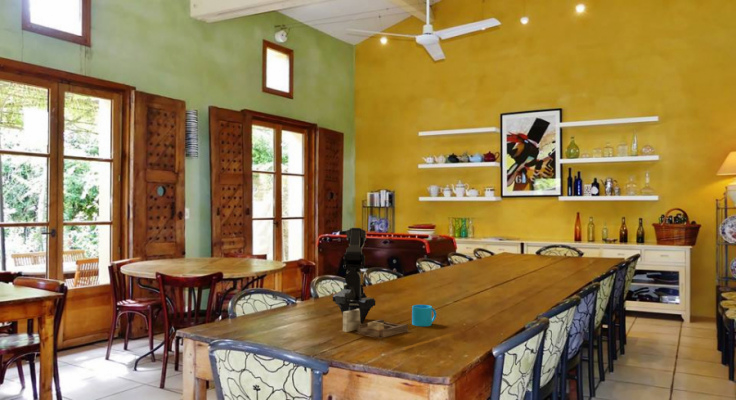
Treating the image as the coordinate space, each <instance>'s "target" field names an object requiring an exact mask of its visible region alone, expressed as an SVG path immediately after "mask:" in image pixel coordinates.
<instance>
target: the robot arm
mask: <svg viewBox="0 0 736 400" xmlns="http://www.w3.org/2000/svg"><path fill="white" fill-rule="evenodd" d="M346 241H348V242H347V243H348V247H346V251H345V253H344V255H343V269H345V270H346V274H345V277H344V281H345V283H346V284H344V285H343V289H342V290H340V291H338V292H337V293H335V294H333V295H332V302H333V303H334V304H335V305H337V306H338V307H339V310H340V311H341V314H342V316H343V312H344V311H349V310H354V309H359V310H360V322H361V324H363V323H365V320H366V319H367V316H368V314H369V312H370V310H371V309H372V308H373V307H374V306H376V299H375V298H373V297H368V296H367V295H366V293H365V291H364V289H365V288H364V284H362V270H363V269H364V267H365V266H366V256H365V254H364V252H363V248H364V246H365V241H367V231H366V230H365V229H363V228H361V227H350V228H349V229H348V230H346ZM361 269H362V270H361Z"/></svg>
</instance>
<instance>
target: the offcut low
mask: <svg viewBox="0 0 736 400" xmlns="http://www.w3.org/2000/svg"><path fill="white" fill-rule="evenodd" d="M365 329H369V328H368V327H365ZM369 330H374V331H378V332H380V335H381V330H384V328H383V329H380V330H375V329H369Z"/></svg>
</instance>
